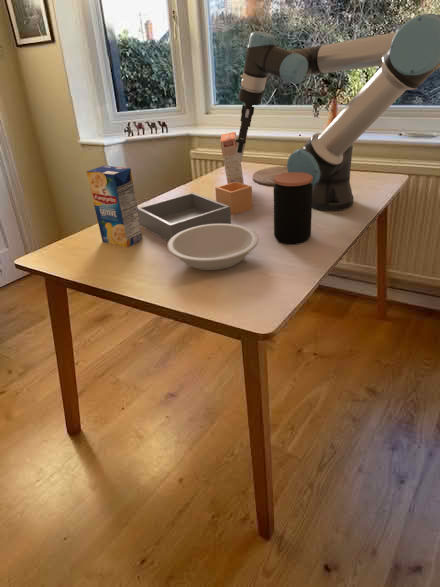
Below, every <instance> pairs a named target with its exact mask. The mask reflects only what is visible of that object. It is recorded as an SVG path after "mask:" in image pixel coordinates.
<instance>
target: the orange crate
mask: <svg viewBox="0 0 440 587" xmlns="http://www.w3.org/2000/svg"><path fill="white" fill-rule="evenodd" d="M214 188H215V190H214V191H215V201H217V202H219V203H222V204H224V205H227V206H230V216H231V215H232V216H234V215H236V214H240V213H242V212H246V211H249V210H252V209H253V186H251V185H248V184H245V183H244V184H242V183H239V182H232V183H229V184H228V183H226V184H222V185H220V186H215V187H214Z"/></svg>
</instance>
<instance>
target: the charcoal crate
mask: <svg viewBox="0 0 440 587" xmlns="http://www.w3.org/2000/svg"><path fill="white" fill-rule="evenodd" d="M137 208H138V214H139V220H140V225H141V227H142V228H143V229H146V230H147V231H149V232H151V233H153V234H155V235H156V236H158V237H160V238H161V239H163V240H165V241H166V242H167V243H168V242H169V240H170V239H171V238H172V237H173V236H174V235H176V234H177V233H179V232H181V231H183V230H186V229H189V228H192V227H196V226H200V225H207V224H232V220H231V218H232V217H231V214H230V206H227V205H224V204H222V203H219V202H217V201H216V200H214V199H211V198H209V197H206V196H203V195H200V194H197V193H195V192H190V193H187V194H181V195H178V196H175V197H171V198H167V199H164V200H160V201H157V202H153V203H150V204H147V205H143V206H140V207H137Z"/></svg>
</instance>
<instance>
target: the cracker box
mask: <svg viewBox="0 0 440 587" xmlns="http://www.w3.org/2000/svg"><path fill="white" fill-rule="evenodd" d="M236 139H237V140H238V136H237V132H236V131H235V132H234V131H233V132H227V133H223V134H222V133H221V136H220V140H219V142H220V148H221V154H222V159H223V165H224V170H225V176H226V182H227V183H226V184H229V183H232V182H239V183H242V184H245V183H244V176H243V175H244V174H243V168H242V162H240V161H235V160H234V156H235V151H236V146H237V142H235V141H236Z"/></svg>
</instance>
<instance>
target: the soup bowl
mask: <svg viewBox="0 0 440 587" xmlns="http://www.w3.org/2000/svg"><path fill="white" fill-rule="evenodd" d="M258 243H259V235H258V234H257V233H256V231H254V230H253V229H252V228H249V227H247V226H244V225H239V224H234V223H231V224H207V225H200V226H196V227H192V228H189V229H186V230H183V231H181V232H179V233H177V234H176V235H174V236H173V237H172V238H171V239H170V240H169V242H168V241H167V250H168V252H169V253H170V254H171V255H173V256H174V257H175V258H177V259H179V260H180V261H182V262H183V263H184V264H186V265H187V266H189V267H191V268H194V269H197V270H203V271H217V270H224V269H227V268H231V267H233V266H235V265H237V264H239V263H240V262H241V261H243V260H244V259H245V258H246V257H247V255H249V253H250V252H251V251H252V250H253V249H255V248H256V246H257V245H258Z"/></svg>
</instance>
